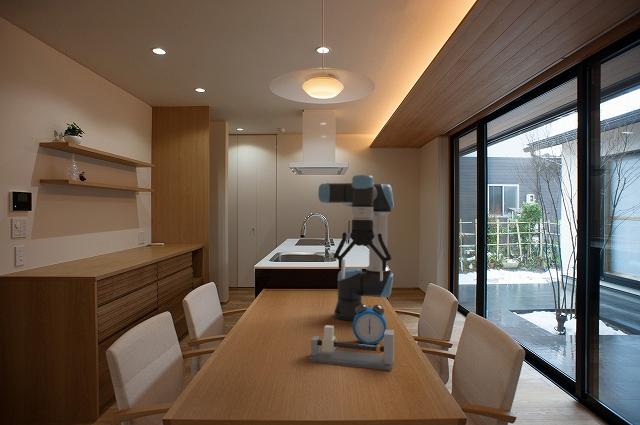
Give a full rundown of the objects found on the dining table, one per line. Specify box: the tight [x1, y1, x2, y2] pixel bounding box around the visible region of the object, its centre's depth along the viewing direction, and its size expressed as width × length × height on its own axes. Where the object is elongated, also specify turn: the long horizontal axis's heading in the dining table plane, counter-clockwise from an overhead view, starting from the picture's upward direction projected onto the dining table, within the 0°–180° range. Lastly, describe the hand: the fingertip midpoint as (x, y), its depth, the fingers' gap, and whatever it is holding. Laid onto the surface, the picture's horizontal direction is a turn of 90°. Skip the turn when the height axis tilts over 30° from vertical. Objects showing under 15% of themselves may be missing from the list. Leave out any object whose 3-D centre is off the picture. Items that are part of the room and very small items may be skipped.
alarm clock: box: [352, 303, 388, 345], centre depth 147 cm, size 13×6×15 cm, turn 81°
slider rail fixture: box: [308, 329, 395, 372], centre depth 130 cm, size 10×28×11 cm, turn 75°
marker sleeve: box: [321, 324, 337, 352], centre depth 132 cm, size 4×4×8 cm
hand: (362, 279), depth 132 cm, fingers open, 13 cm apart
